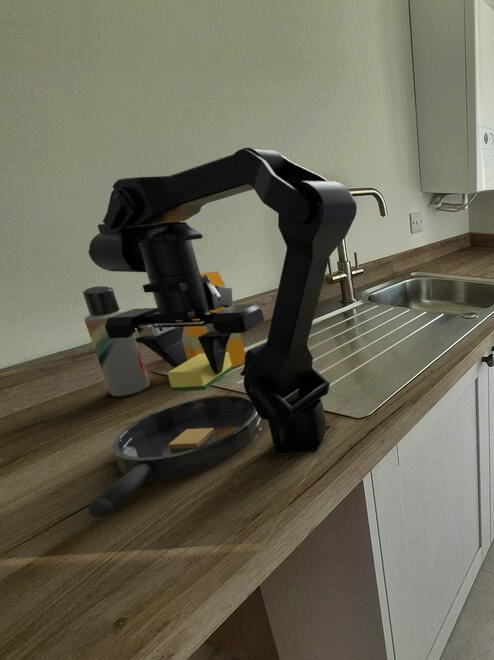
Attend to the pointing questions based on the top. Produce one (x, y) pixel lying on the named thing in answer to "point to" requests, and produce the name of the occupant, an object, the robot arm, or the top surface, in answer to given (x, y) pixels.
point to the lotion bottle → (114, 345)
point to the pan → (167, 424)
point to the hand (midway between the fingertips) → (203, 373)
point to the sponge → (197, 374)
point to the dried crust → (191, 438)
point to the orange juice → (193, 332)
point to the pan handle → (120, 491)
